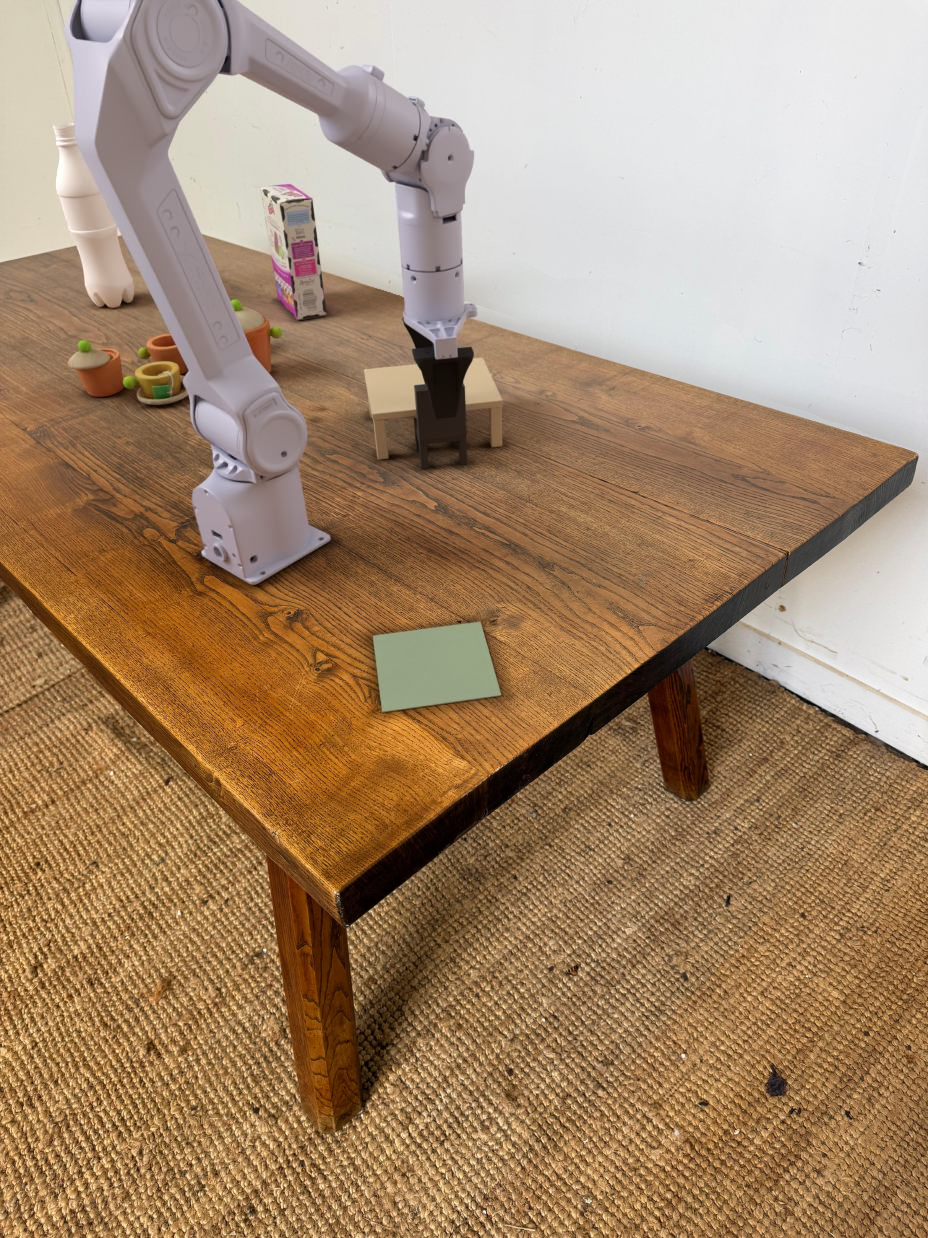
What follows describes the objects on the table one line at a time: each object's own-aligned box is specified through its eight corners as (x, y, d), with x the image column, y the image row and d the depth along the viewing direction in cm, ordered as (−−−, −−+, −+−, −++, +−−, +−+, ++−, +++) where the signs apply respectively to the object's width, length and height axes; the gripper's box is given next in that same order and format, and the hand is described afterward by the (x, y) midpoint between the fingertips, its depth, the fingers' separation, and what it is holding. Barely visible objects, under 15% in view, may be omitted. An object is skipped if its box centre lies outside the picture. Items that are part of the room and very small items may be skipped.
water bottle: (81, 308, 138) (26, 129, 122) (108, 293, 143) (58, 119, 128) (121, 311, 136) (69, 129, 121) (146, 296, 142) (100, 119, 126)
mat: (501, 696, 66) (501, 695, 66) (382, 712, 65) (382, 711, 65) (480, 622, 73) (480, 621, 73) (372, 636, 72) (372, 635, 72)
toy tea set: (250, 337, 126) (237, 267, 120) (302, 370, 116) (290, 296, 110) (67, 388, 114) (42, 313, 108) (106, 429, 104) (81, 350, 98)
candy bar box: (329, 315, 131) (314, 197, 121) (297, 321, 130) (278, 202, 120) (307, 294, 139) (291, 181, 129) (277, 299, 138) (257, 185, 128)
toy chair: (468, 465, 94) (464, 386, 88) (421, 470, 94) (415, 391, 88) (460, 442, 98) (456, 365, 93) (415, 447, 98) (409, 370, 92)
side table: (503, 446, 97) (502, 399, 94) (377, 460, 96) (371, 413, 92) (484, 400, 106) (483, 356, 103) (368, 413, 105) (363, 368, 102)
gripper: (488, 283, 76) (491, 427, 85) (462, 237, 87) (467, 368, 96) (408, 291, 75) (419, 435, 84) (391, 243, 87) (403, 374, 95)
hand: (440, 400), depth 90 cm, fingers open, 7 cm apart
